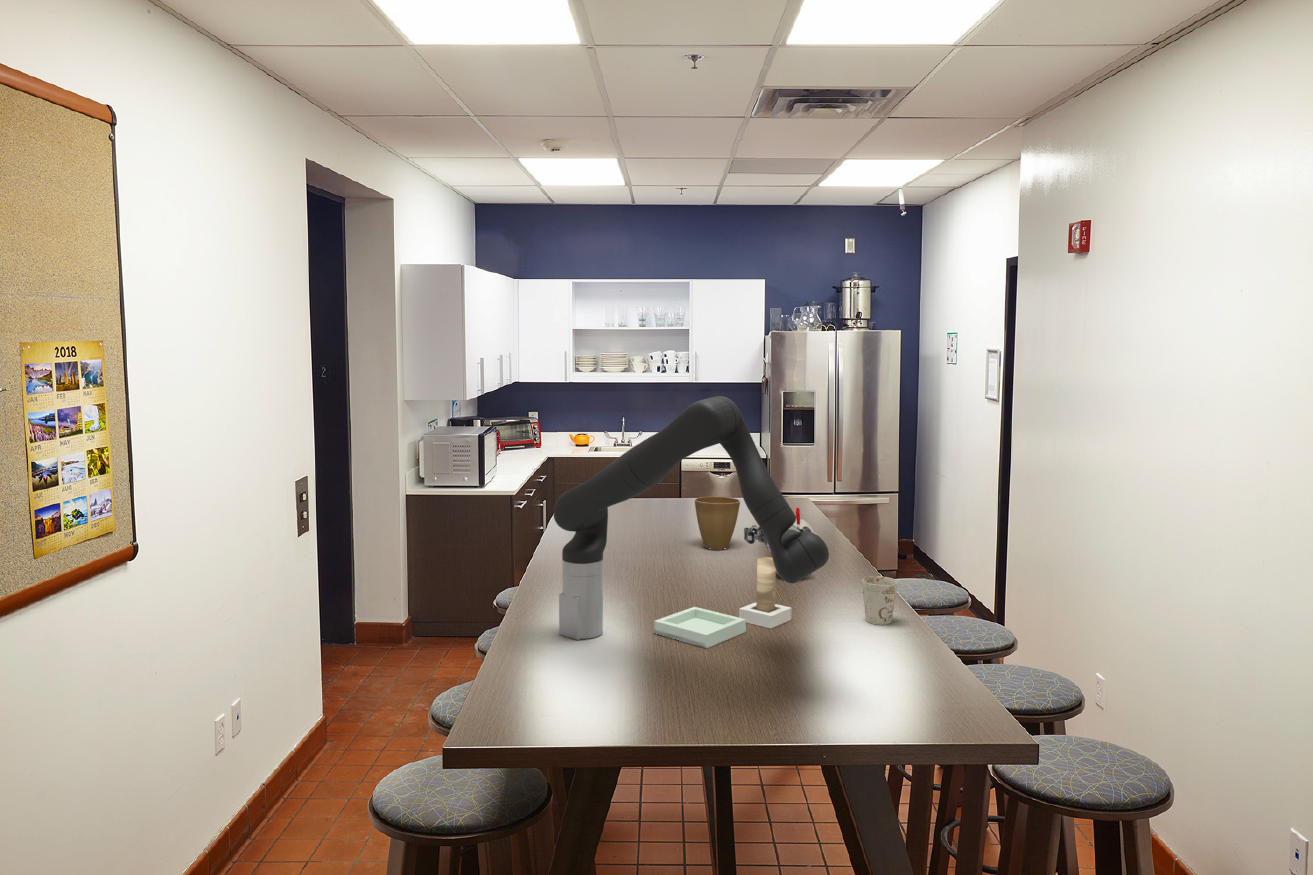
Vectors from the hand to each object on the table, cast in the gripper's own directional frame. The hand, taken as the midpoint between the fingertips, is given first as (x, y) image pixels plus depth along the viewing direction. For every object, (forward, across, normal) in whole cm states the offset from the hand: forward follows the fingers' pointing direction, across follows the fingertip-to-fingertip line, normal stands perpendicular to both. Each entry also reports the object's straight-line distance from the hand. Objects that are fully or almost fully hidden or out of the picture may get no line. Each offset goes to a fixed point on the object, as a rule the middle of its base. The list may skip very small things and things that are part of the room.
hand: (772, 529), depth 201 cm
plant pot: (+88, +4, +21) cm, 91 cm away
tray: (+2, +17, +24) cm, 29 cm away
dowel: (+11, 0, +24) cm, 26 cm away
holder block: (+11, 0, +24) cm, 26 cm away
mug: (+12, -27, +25) cm, 38 cm away
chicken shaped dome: (+78, -21, +22) cm, 84 cm away
